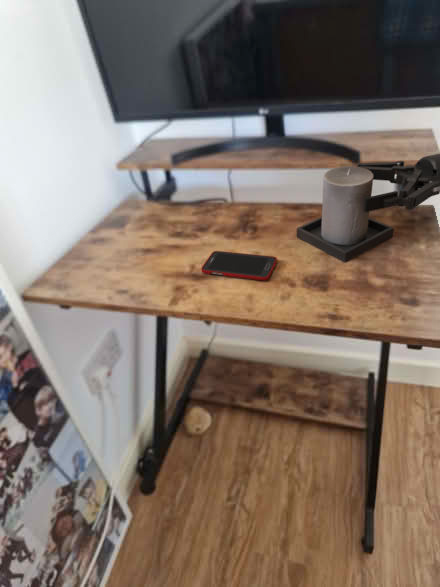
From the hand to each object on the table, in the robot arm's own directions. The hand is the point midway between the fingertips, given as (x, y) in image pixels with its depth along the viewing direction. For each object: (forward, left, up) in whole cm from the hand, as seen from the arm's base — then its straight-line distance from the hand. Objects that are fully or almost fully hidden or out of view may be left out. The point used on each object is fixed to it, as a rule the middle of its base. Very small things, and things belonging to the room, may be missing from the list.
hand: (347, 192), depth 83 cm
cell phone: (+6, +24, -11) cm, 27 cm away
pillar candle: (0, 0, -10) cm, 10 cm away
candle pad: (0, 0, -11) cm, 11 cm away
